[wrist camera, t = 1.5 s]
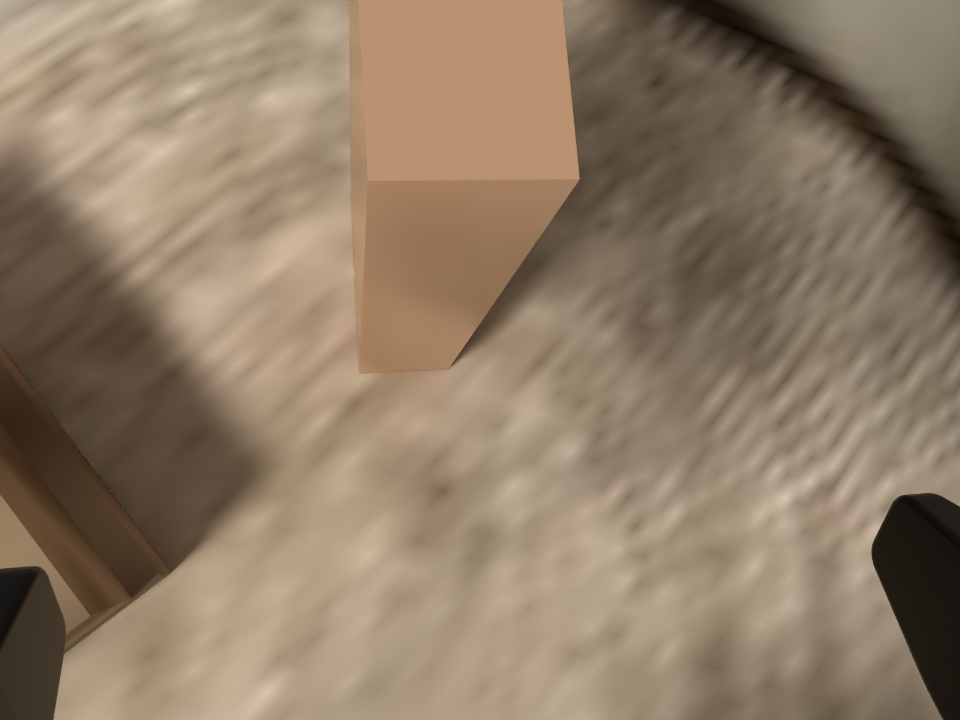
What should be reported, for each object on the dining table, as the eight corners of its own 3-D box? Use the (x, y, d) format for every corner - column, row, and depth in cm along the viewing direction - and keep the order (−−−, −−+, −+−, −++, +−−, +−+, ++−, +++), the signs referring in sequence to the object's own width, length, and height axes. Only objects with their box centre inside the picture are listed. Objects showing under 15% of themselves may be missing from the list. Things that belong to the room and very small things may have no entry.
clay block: (448, 369, 22) (579, 179, 9) (359, 373, 21) (367, 181, 9) (436, 195, 23) (541, -199, 10) (351, 196, 22) (347, -214, 10)
